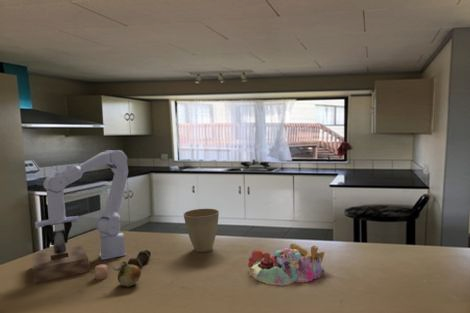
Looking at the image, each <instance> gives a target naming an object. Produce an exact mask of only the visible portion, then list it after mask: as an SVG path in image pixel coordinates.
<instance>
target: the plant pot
mask: <svg viewBox="0 0 470 313" xmlns="http://www.w3.org/2000/svg"><path fill="white" fill-rule="evenodd" d="M219 212H220V211H219V210H218V209H216V208H196V209H192V210H191V209H190V210H187V211H185V212H184V213H183V218H184V219H183V220H184V223H185V227H186V231H187V233H188V237H189V239H190V242H191V244H192V248H193V249H194V251H195V252H198V253H205V252H210V251H212V250H213V246H214V245H215V240H216V235H217V230H218V224H219V214H220V213H219Z"/></svg>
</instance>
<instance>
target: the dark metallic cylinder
mask: <svg viewBox="0 0 470 313" xmlns="http://www.w3.org/2000/svg"><path fill="white" fill-rule="evenodd" d="M52 237H53V242H54V245H53V251H54V253H55V254H61V253H64V252H66V248H67V245H66V244H67V243H65V230H64V229H61V228H60V229H55V230H52Z"/></svg>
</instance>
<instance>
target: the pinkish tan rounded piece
mask: <svg viewBox="0 0 470 313" xmlns="http://www.w3.org/2000/svg"><path fill="white" fill-rule="evenodd" d="M94 271H95V274H94V276H95V280H98V281H100V280H101V281H102V280H106V279H107V278H108V276H109V274H108V265H107V264H97V265H96V266H95V267H94Z"/></svg>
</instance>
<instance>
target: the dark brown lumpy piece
mask: <svg viewBox="0 0 470 313" xmlns="http://www.w3.org/2000/svg"><path fill="white" fill-rule="evenodd" d="M150 258H151V251H150V250H148V249H146V250H141V251H139V252H138V254H137V255H136V257H135V258H133V257H131V258H129V259H128V261H127V264H129V265H135V266H137V267H139V269H140V270H141V269H142V267H143V264H146V263H148V262H149V260H150Z"/></svg>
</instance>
